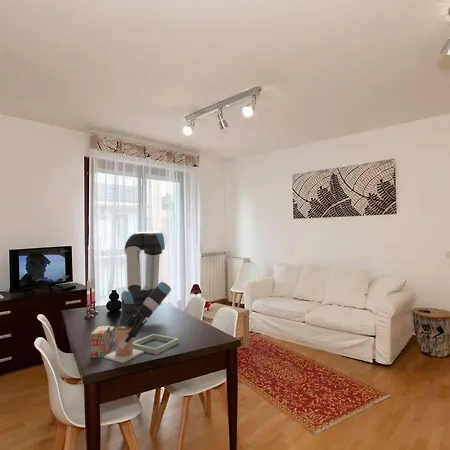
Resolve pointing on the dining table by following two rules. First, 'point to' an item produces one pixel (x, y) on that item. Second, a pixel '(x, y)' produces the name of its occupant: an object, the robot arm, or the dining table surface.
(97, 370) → the dining table surface
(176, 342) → the frame
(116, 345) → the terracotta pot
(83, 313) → the dining table surface
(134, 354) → the ceramic tile
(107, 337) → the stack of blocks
